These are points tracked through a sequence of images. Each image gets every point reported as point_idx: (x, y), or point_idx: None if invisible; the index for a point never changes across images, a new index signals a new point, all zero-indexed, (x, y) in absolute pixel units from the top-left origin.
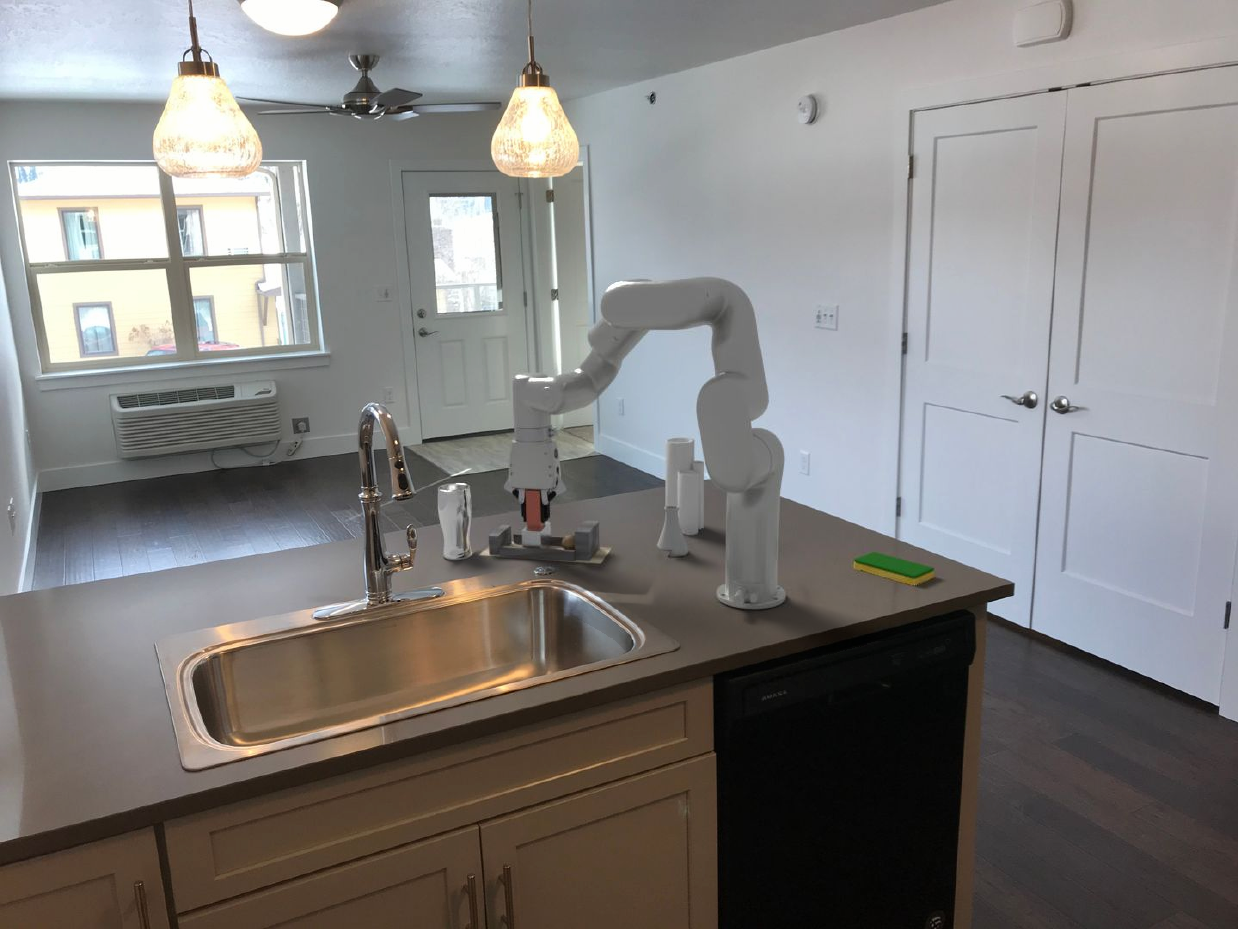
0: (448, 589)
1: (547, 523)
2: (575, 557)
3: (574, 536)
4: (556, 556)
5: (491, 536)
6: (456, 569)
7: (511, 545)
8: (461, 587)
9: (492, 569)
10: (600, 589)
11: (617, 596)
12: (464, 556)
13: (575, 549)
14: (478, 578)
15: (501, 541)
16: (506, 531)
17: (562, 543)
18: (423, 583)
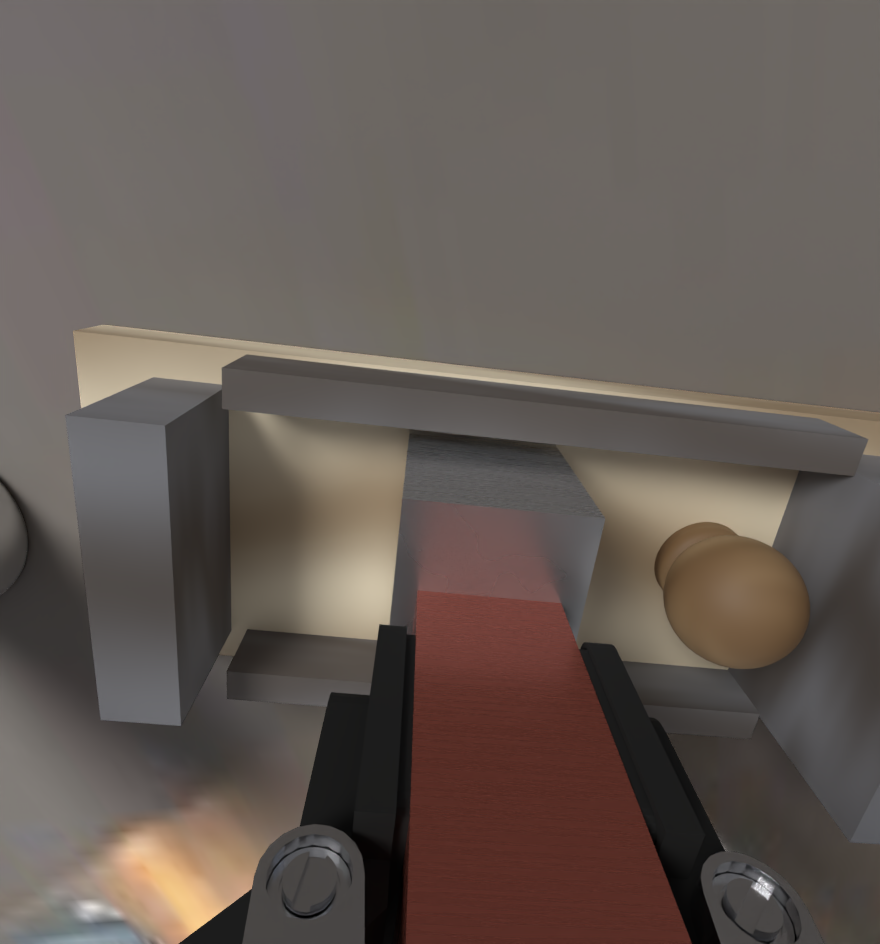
0: (156, 919)
1: (579, 572)
2: (736, 684)
3: (796, 641)
4: None
5: (126, 716)
6: (60, 723)
7: (248, 445)
8: (202, 899)
9: (254, 708)
10: (814, 870)
11: (875, 919)
12: (3, 590)
13: (765, 723)
14: (233, 813)
15: (203, 620)
16: (181, 536)
17: (675, 630)
18: (7, 879)
